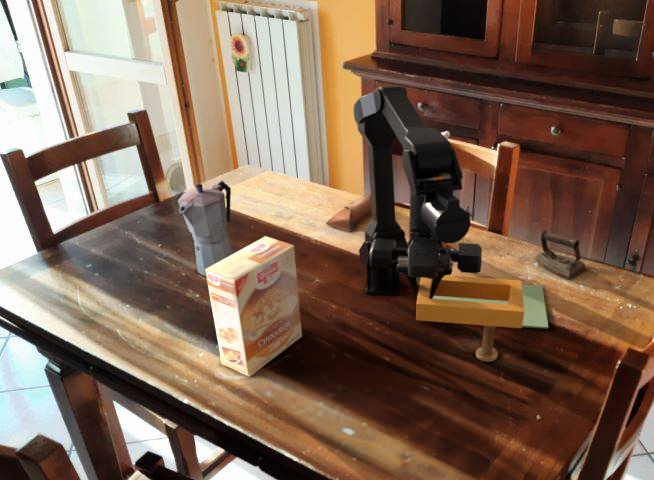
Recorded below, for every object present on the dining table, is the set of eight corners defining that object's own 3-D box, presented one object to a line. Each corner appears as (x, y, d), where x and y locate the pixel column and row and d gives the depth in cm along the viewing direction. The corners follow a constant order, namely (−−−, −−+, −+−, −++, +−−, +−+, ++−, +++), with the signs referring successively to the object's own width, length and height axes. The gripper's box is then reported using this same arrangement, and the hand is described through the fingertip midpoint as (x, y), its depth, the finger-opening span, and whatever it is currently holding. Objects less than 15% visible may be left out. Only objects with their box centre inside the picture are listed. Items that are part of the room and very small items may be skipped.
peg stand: (475, 361, 118) (478, 330, 114) (475, 348, 122) (478, 318, 118) (497, 362, 118) (501, 332, 114) (497, 349, 121) (500, 319, 117)
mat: (425, 321, 129) (425, 319, 129) (430, 281, 142) (430, 279, 142) (548, 328, 127) (548, 327, 127) (541, 287, 140) (542, 285, 140)
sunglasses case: (358, 198, 178) (369, 180, 173) (378, 215, 178) (389, 197, 173) (323, 224, 164) (334, 205, 160) (345, 241, 164) (356, 223, 160)
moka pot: (178, 278, 142) (159, 191, 131) (219, 248, 154) (206, 166, 143) (215, 286, 139) (199, 199, 128) (254, 255, 151) (243, 172, 140)
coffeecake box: (249, 377, 114) (234, 280, 103) (220, 364, 117) (202, 268, 106) (304, 336, 124) (295, 244, 113) (275, 325, 127) (264, 234, 116)
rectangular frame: (415, 320, 112) (416, 303, 110) (420, 289, 120) (421, 273, 119) (521, 328, 111) (524, 311, 109) (518, 296, 119) (521, 280, 117)
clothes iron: (572, 282, 143) (567, 241, 138) (528, 276, 150) (522, 236, 146) (588, 268, 147) (584, 227, 142) (545, 263, 154) (539, 223, 150)
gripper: (363, 235, 101) (365, 319, 109) (484, 242, 99) (477, 327, 108) (372, 206, 110) (374, 286, 119) (484, 211, 108) (477, 292, 117)
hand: (424, 298), depth 115 cm, fingers closed on rectangular frame, 2 cm apart
